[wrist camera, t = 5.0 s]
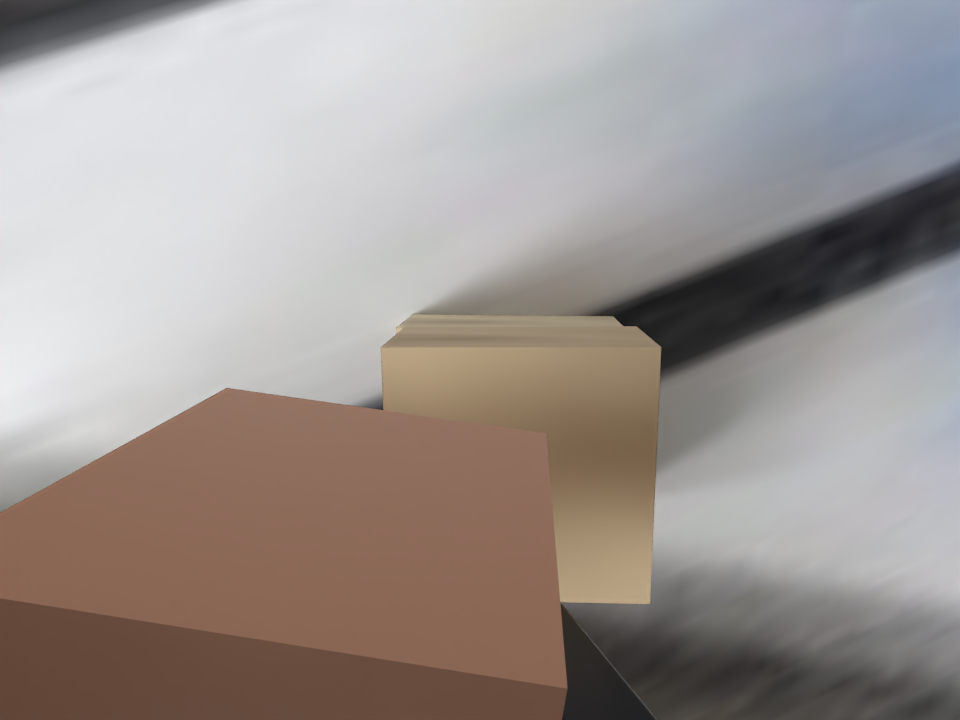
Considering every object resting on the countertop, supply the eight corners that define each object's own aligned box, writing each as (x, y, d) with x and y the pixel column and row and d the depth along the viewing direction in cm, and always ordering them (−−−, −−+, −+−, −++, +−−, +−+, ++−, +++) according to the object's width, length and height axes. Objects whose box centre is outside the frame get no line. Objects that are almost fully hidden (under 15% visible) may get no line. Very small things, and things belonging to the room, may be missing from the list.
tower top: (628, 542, 18) (650, 604, 15) (411, 538, 18) (391, 598, 15) (636, 326, 17) (661, 347, 14) (404, 326, 17) (381, 347, 14)
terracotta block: (545, 433, 9) (568, 686, 4) (503, 714, 10) (478, 1192, 5) (226, 387, 9) (-122, 579, 4) (215, 666, 10) (-80, 1084, 5)
